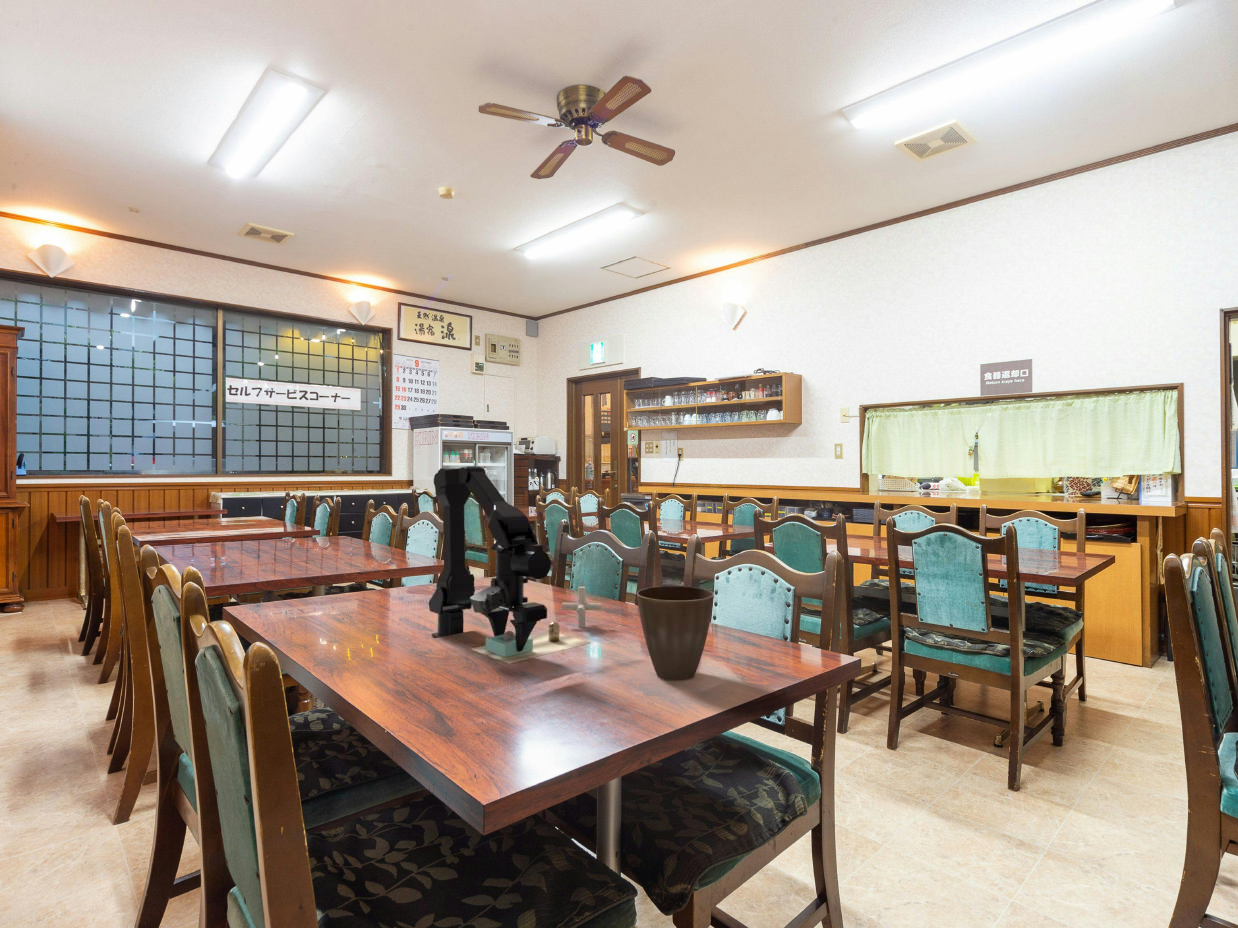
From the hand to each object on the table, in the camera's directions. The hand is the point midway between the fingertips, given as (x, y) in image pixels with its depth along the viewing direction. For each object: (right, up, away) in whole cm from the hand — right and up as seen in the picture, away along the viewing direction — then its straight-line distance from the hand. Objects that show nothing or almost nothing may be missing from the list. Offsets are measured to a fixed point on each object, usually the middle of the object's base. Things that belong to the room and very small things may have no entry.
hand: (509, 647), depth 135 cm
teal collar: (0, -1, 0) cm, 0 cm away
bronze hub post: (+9, -1, +8) cm, 12 cm away
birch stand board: (+4, -2, +4) cm, 6 cm away
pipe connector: (+14, -3, +27) cm, 31 cm away
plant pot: (+34, -3, -10) cm, 35 cm away
